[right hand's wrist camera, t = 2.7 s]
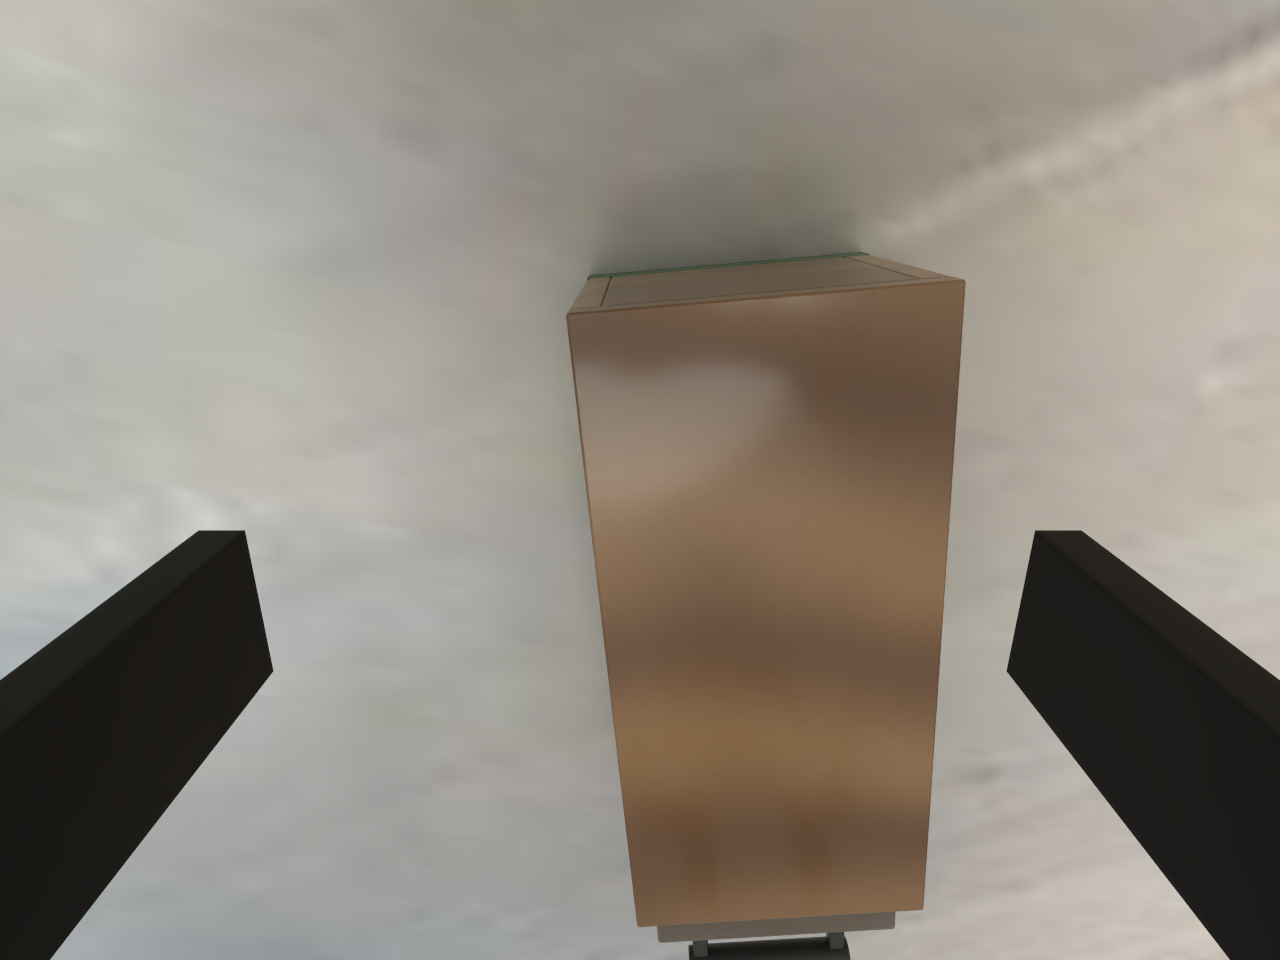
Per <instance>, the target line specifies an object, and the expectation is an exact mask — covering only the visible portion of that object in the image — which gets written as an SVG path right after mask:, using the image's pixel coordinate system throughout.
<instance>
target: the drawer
mask: <svg viewBox="0 0 1280 960" xmlns="http://www.w3.org/2000/svg"><path fill="white" fill-rule="evenodd" d="M894 926H895V911H894V912H878V913H861V914H845V915H828V916H812V917H795V918H779V919H762V920H746V921H729V922H712V923H696V924H679V925H663V926H657V932H658V940H659V942H661V943H663V942H680V941H693V945H689V946H688V947H689V960H850V953H849V948H848V944H847V940H846V938H845V936H844V932H847V931H864V930H880V929H893V928H894ZM814 933H827V934H826V937H812V938H795V939H778V940H761V941H745V942H728V943H711V944H708V940H713V939H730V938H747V937H763V936H780V935H797V934H814Z"/></svg>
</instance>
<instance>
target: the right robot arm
mask: <svg viewBox="0 0 1280 960" xmlns="http://www.w3.org/2000/svg"><path fill="white" fill-rule="evenodd" d="M272 672H273V667H272V662H271V657H270V653H269V648H268V643H267V638H266V633H265V628H264V623H263V618H262V613H261V608H260V603H259V598H258V593H257V588H256V583H255V578H254V574H253V569H252V564H251V559H250V554H249V549H248V544H247V539H246V534H245V531H197V532H196V533H195V534H194V535H192V536H191V537H190V538H188V539H187V540H186V541H184V542H183V543H182V544H180V545H179V546H178V547H176V548H175V549H174V550H172V551H171V552H170V553H168V554H167V555H166V556H164V557H163V558H162V559H160V560H159V561H158V562H156V563H155V564H154V565H152V566H151V567H150V568H148V569H147V570H146V571H144V572H143V573H142V574H141V575H139V576H138V577H137V578H135V579H134V580H133V581H131V582H130V583H129V584H127V585H126V586H125V587H123V588H122V589H121V590H119V591H118V592H117V593H115V594H114V595H113V596H111V597H110V598H109V599H107V600H106V601H105V602H103V603H102V604H101V605H99V606H98V607H97V608H95V609H94V610H93V611H91V612H90V613H89V614H88V615H86V616H85V617H84V618H82V619H81V620H80V621H78V622H77V623H76V624H74V625H73V626H72V627H70V628H69V629H68V630H66V631H65V632H64V633H62V634H61V635H60V636H58V637H57V638H56V639H54V640H53V641H52V642H50V643H49V644H48V645H46V646H45V647H44V648H42V649H41V650H40V651H38V652H37V653H36V654H35V655H33V656H32V657H31V658H29V659H28V660H27V661H25V662H24V663H23V664H21V665H20V666H19V667H17V668H16V669H15V670H13V671H12V672H11V673H9V674H8V675H7V676H5V677H4V678H3V679H1V680H0V960H50V959H51V958H52V956H53V955H54V954H55V952H56V951H57V950H58V949H59V947H60V946H61V945H62V943H63V942H64V941H65V940H66V938H67V937H68V936H69V934H70V933H71V932H72V930H73V929H74V928H75V927H76V925H77V924H78V923H79V921H80V920H81V919H82V918H83V916H84V915H85V914H86V912H87V911H88V910H89V909H90V907H91V906H92V905H93V903H94V902H95V901H96V899H97V898H98V897H99V896H100V894H101V893H102V892H103V890H104V889H105V888H106V887H107V885H108V884H109V883H110V881H111V880H112V879H113V878H114V876H115V875H116V874H117V872H118V871H119V870H120V868H121V867H122V866H123V865H124V863H125V862H126V861H127V859H128V858H129V857H130V856H131V854H132V853H133V852H134V850H135V849H136V848H137V847H138V845H139V844H140V843H141V841H142V840H143V839H144V838H145V836H146V835H147V834H148V832H149V831H150V830H151V828H152V827H153V826H154V825H155V823H156V822H157V821H158V819H159V818H160V817H161V816H162V814H163V813H164V812H165V810H166V809H167V808H168V807H169V805H170V804H171V803H172V801H173V800H174V799H175V797H176V796H177V795H178V794H179V792H180V791H181V790H182V788H183V787H184V786H185V785H186V783H187V782H188V781H189V779H190V778H191V777H192V776H193V774H194V773H195V772H196V770H197V769H198V768H199V766H200V765H201V764H202V763H203V761H204V760H205V759H206V757H207V756H208V755H209V754H210V752H211V751H212V750H213V748H214V747H215V746H216V745H217V743H218V742H219V741H220V739H221V738H222V737H223V735H224V734H225V733H226V732H227V730H228V729H229V728H230V726H231V725H232V724H233V723H234V721H235V720H236V719H237V717H238V716H239V715H240V714H241V712H242V711H243V710H244V708H245V707H246V706H247V704H248V703H249V702H250V701H251V699H252V698H253V697H254V695H255V694H256V693H257V692H258V690H259V689H260V688H261V686H262V685H263V684H264V683H265V681H266V680H267V679H268V677H269V676H270V675H271V673H272ZM1007 672H1008V673H1009V675H1010V676H1011V677H1012V679H1013V680H1014V681H1015V683H1016V684H1017V685H1018V686H1019V688H1020V689H1021V690H1022V692H1023V693H1024V694H1025V695H1026V697H1027V698H1028V699H1029V701H1030V702H1031V703H1032V704H1033V706H1034V707H1035V708H1036V710H1037V711H1038V712H1039V714H1040V715H1041V716H1042V717H1043V719H1044V720H1045V721H1046V723H1047V724H1048V725H1049V726H1050V728H1051V729H1052V730H1053V732H1054V733H1055V734H1056V735H1057V737H1058V738H1059V739H1060V741H1061V742H1062V743H1063V745H1064V746H1065V747H1066V748H1067V750H1068V751H1069V752H1070V754H1071V755H1072V756H1073V757H1074V759H1075V760H1076V761H1077V763H1078V764H1079V765H1080V766H1081V768H1082V769H1083V770H1084V772H1085V773H1086V774H1087V776H1088V777H1089V778H1090V779H1091V781H1092V782H1093V783H1094V785H1095V786H1096V787H1097V788H1098V790H1099V791H1100V792H1101V794H1102V795H1103V796H1104V797H1105V799H1106V800H1107V801H1108V803H1109V804H1110V805H1111V807H1112V808H1113V809H1114V810H1115V812H1116V813H1117V814H1118V816H1119V817H1120V818H1121V819H1122V821H1123V822H1124V823H1125V825H1126V826H1127V827H1128V828H1129V830H1130V831H1131V832H1132V834H1133V835H1134V836H1135V838H1136V839H1137V840H1138V841H1139V843H1140V844H1141V845H1142V847H1143V848H1144V849H1145V850H1146V852H1147V853H1148V854H1149V856H1150V857H1151V858H1152V859H1153V861H1154V862H1155V863H1156V865H1157V866H1158V867H1159V868H1160V870H1161V871H1162V872H1163V874H1164V875H1165V876H1166V878H1167V879H1168V880H1169V881H1170V883H1171V884H1172V885H1173V887H1174V888H1175V889H1176V890H1177V892H1178V893H1179V894H1180V896H1181V897H1182V898H1183V899H1184V901H1185V902H1186V903H1187V905H1188V906H1189V907H1190V909H1191V910H1192V911H1193V912H1194V914H1195V915H1196V916H1197V918H1198V919H1199V920H1200V921H1201V923H1202V924H1203V925H1204V927H1205V928H1206V929H1207V930H1208V932H1209V933H1210V934H1211V936H1212V937H1213V938H1214V940H1215V941H1216V942H1217V943H1218V945H1219V946H1220V947H1221V949H1222V950H1223V951H1224V952H1225V954H1226V955H1227V956H1228V958H1229V959H1230V960H1280V680H1279V679H1277V678H1276V677H1275V676H1273V675H1272V674H1271V673H1269V672H1268V671H1267V670H1265V669H1264V668H1263V667H1261V666H1260V665H1259V664H1257V663H1256V662H1255V661H1253V660H1252V659H1251V658H1249V657H1248V656H1247V655H1245V654H1244V653H1243V652H1242V651H1240V650H1239V649H1238V648H1236V647H1235V646H1234V645H1232V644H1231V643H1230V642H1228V641H1227V640H1226V639H1224V638H1223V637H1222V636H1220V635H1219V634H1218V633H1216V632H1215V631H1214V630H1212V629H1211V628H1210V627H1208V626H1207V625H1206V624H1204V623H1203V622H1202V621H1200V620H1199V619H1198V618H1196V617H1195V616H1194V615H1192V614H1191V613H1190V612H1189V611H1187V610H1186V609H1185V608H1183V607H1182V606H1181V605H1179V604H1178V603H1177V602H1175V601H1174V600H1173V599H1171V598H1170V597H1169V596H1167V595H1166V594H1165V593H1163V592H1162V591H1161V590H1159V589H1158V588H1157V587H1155V586H1154V585H1153V584H1151V583H1150V582H1149V581H1147V580H1146V579H1145V578H1143V577H1142V576H1141V575H1139V574H1138V573H1137V572H1136V571H1134V570H1133V569H1132V568H1130V567H1129V566H1128V565H1126V564H1125V563H1124V562H1122V561H1121V560H1120V559H1118V558H1117V557H1116V556H1114V555H1113V554H1112V553H1110V552H1109V551H1108V550H1106V549H1105V548H1104V547H1102V546H1101V545H1100V544H1098V543H1097V542H1096V541H1094V540H1093V539H1092V538H1090V537H1089V536H1088V535H1086V534H1085V533H1084V532H1083V531H1035V534H1034V539H1033V544H1032V549H1031V554H1030V559H1029V564H1028V569H1027V574H1026V578H1025V583H1024V588H1023V593H1022V598H1021V603H1020V608H1019V613H1018V618H1017V623H1016V628H1015V633H1014V638H1013V643H1012V648H1011V653H1010V657H1009V662H1008V667H1007Z"/></svg>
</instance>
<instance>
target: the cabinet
mask: <svg viewBox="0 0 1280 960" xmlns="http://www.w3.org/2000/svg"><path fill="white" fill-rule="evenodd" d="M964 296H965V280H963V279H959V278H955V277H950V276H946V275H943V274H939V273H935V272H931V271H927V270H923V269H919V268H916V267H912V266H908V265H904V264H900V263H896V262H892V261H889V260H885V259H881V258H877V257H873V256H869V254H866V253H862V252H859V253H848V254H836V255H825V256H813V257H801V258H790V259H778V260H767V261H755V262H743V263H732V264H720V265H709V266H697V267H685V268H674V269H662V270H651V271H639V272H627V273H616V274H604V275H593V276H589V277H588V281H587V283H586V284H585V286H584V288H583V289H582V291H581V293H580V294H579V296H578V297H577V299H576V301H575V302H574V304H573V306H572V307H571V309H570V310H569V311H568V313H567V315H566V318H567V327H568V336H569V344H570V353H571V361H572V370H573V378H574V387H575V396H576V404H577V413H578V421H579V430H580V438H581V447H582V456H583V464H584V473H585V481H586V490H587V498H588V507H589V516H590V524H591V533H592V541H593V550H594V558H595V567H596V576H597V584H598V593H599V601H600V610H601V618H602V627H603V636H604V644H605V653H606V661H607V670H608V678H609V687H610V696H611V704H612V713H613V721H614V730H615V738H616V747H617V756H618V764H619V773H620V781H621V790H622V798H623V807H624V816H625V824H626V833H627V841H628V850H629V859H630V867H631V876H632V884H633V893H634V901H635V910H636V919H637V925H638V927H646V926H663V925H679V924H696V923H712V922H729V921H746V920H762V919H779V918H795V917H812V916H828V915H845V914H861V913H878V912H894V911H911V910H922V909H923V903H924V888H925V873H926V858H927V843H928V829H929V814H930V799H931V784H932V769H933V755H934V740H935V725H936V710H937V695H938V681H939V666H940V651H941V636H942V621H943V607H944V592H945V577H946V562H947V547H948V533H949V518H950V503H951V488H952V473H953V459H954V444H955V429H956V414H957V399H958V385H959V370H960V355H961V340H962V325H963V311H964Z"/></svg>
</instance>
